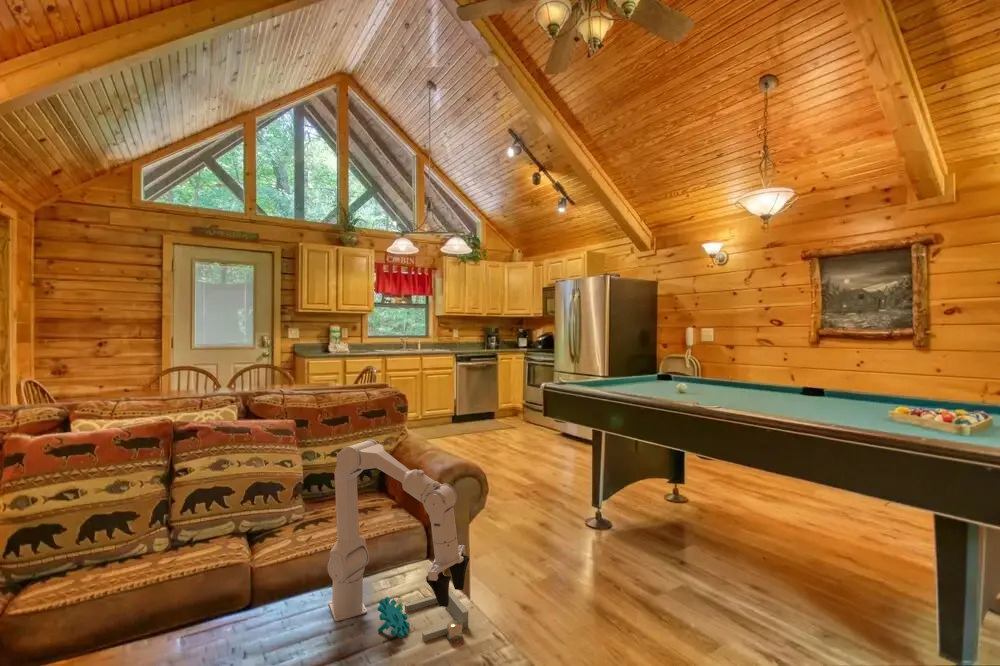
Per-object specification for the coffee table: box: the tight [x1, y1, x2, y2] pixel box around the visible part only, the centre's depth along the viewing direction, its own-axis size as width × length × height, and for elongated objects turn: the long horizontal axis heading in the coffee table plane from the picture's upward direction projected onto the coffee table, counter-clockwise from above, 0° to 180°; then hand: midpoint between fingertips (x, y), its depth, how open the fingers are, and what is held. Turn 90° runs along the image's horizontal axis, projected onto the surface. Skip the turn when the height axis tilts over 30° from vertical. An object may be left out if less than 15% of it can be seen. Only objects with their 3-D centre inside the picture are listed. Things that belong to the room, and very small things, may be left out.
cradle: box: [404, 587, 469, 642], centre depth 121 cm, size 14×12×4 cm
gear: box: [376, 596, 411, 639], centre depth 116 cm, size 11×6×10 cm
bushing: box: [446, 619, 463, 643], centre depth 114 cm, size 4×4×3 cm
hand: (451, 597), depth 112 cm, fingers open, 7 cm apart
